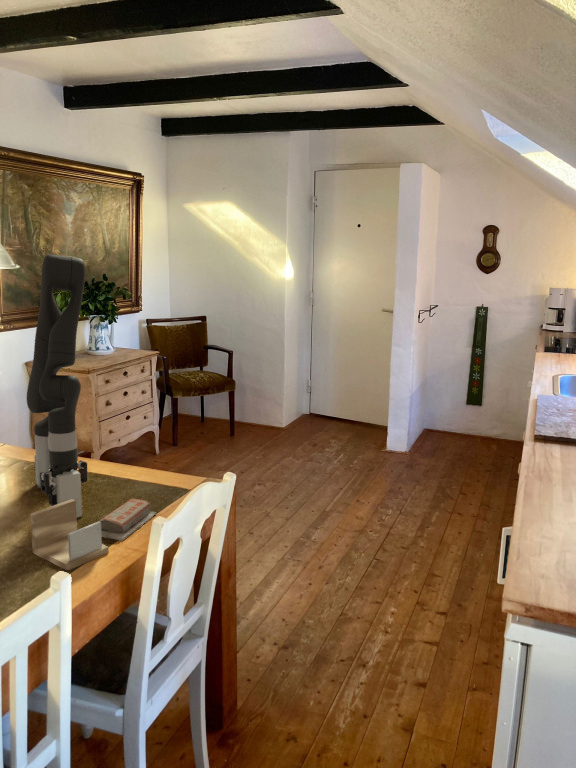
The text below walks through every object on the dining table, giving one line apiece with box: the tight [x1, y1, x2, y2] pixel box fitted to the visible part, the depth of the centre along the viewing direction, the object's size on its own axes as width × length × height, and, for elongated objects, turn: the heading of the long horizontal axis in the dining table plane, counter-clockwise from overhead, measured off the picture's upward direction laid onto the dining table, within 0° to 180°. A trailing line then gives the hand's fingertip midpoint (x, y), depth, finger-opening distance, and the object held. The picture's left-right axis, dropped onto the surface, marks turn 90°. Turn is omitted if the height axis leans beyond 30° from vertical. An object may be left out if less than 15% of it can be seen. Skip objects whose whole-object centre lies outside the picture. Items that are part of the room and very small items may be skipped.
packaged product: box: [99, 498, 157, 542], centre depth 178 cm, size 18×5×10 cm
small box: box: [48, 469, 83, 518], centre depth 182 cm, size 8×6×13 cm
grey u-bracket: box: [30, 499, 110, 572], centre depth 161 cm, size 14×12×10 cm
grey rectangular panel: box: [68, 520, 103, 562], centre depth 157 cm, size 1×9×7 cm, turn 144°
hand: (65, 501), depth 182 cm, fingers closed on small box, 7 cm apart
